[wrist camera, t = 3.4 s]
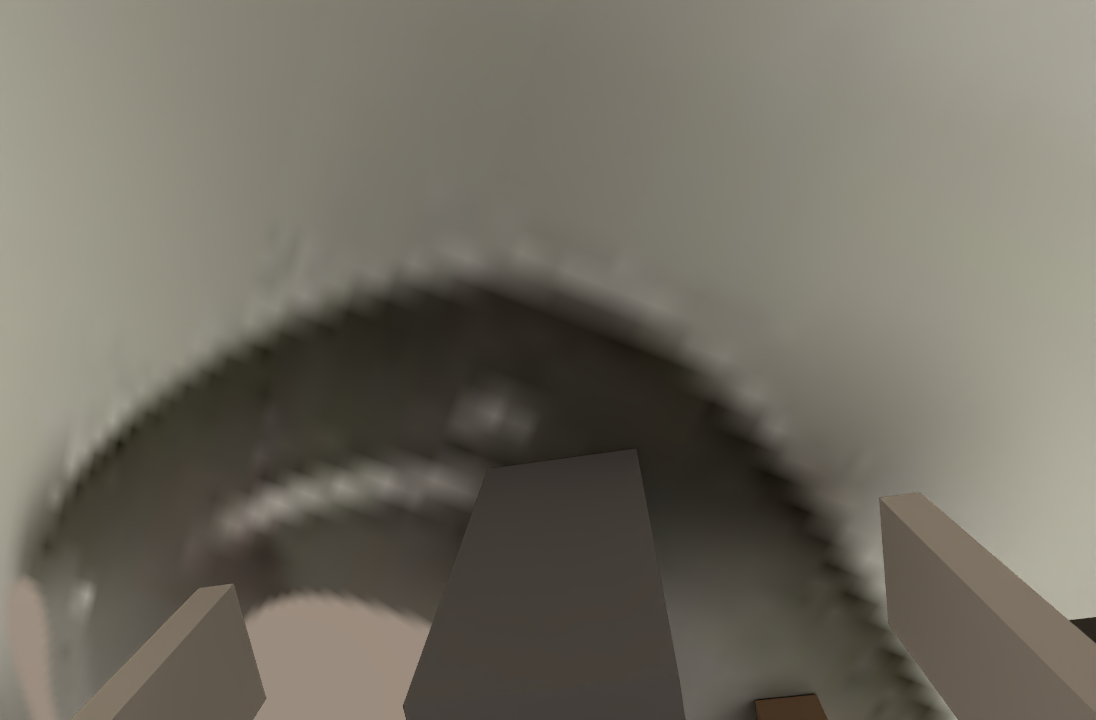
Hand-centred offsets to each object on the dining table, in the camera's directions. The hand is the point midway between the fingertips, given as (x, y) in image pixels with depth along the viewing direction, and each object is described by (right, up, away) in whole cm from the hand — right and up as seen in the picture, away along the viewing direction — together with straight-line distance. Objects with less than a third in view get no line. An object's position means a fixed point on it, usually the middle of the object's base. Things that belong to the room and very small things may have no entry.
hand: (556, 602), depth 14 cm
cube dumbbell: (+2, -6, +4) cm, 8 cm away
